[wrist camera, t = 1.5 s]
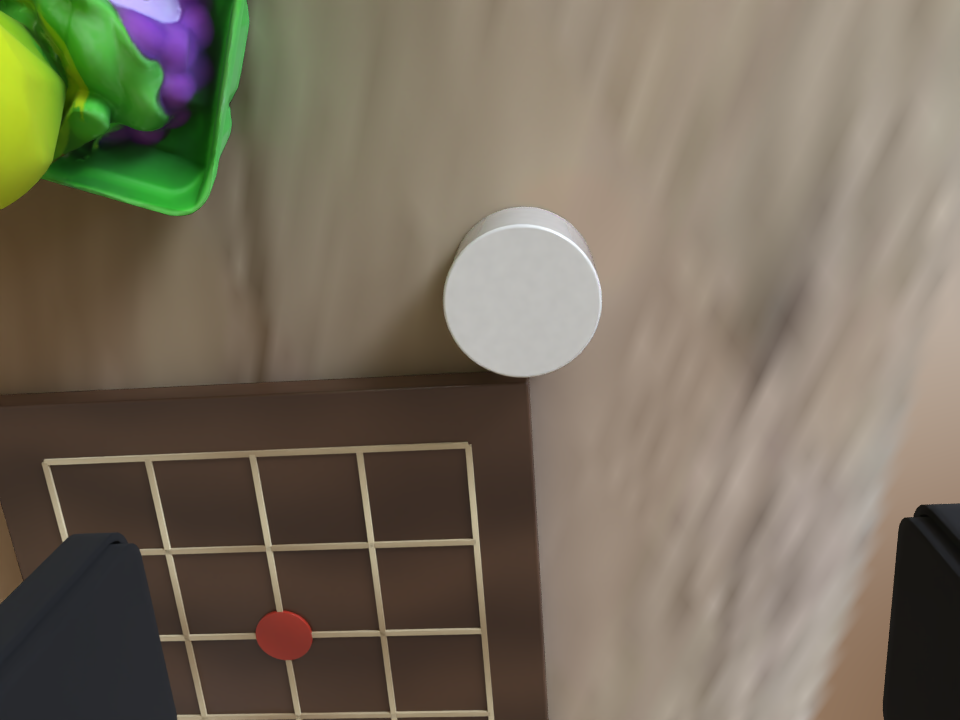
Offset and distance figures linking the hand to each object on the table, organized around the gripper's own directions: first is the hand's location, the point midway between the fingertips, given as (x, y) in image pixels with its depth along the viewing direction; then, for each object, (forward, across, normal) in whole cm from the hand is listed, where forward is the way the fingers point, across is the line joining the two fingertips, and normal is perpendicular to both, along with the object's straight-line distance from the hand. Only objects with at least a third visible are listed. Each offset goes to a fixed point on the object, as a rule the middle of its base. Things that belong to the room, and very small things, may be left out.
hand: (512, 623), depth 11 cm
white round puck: (+17, 0, 0) cm, 17 cm away
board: (+17, +9, +12) cm, 23 cm away
